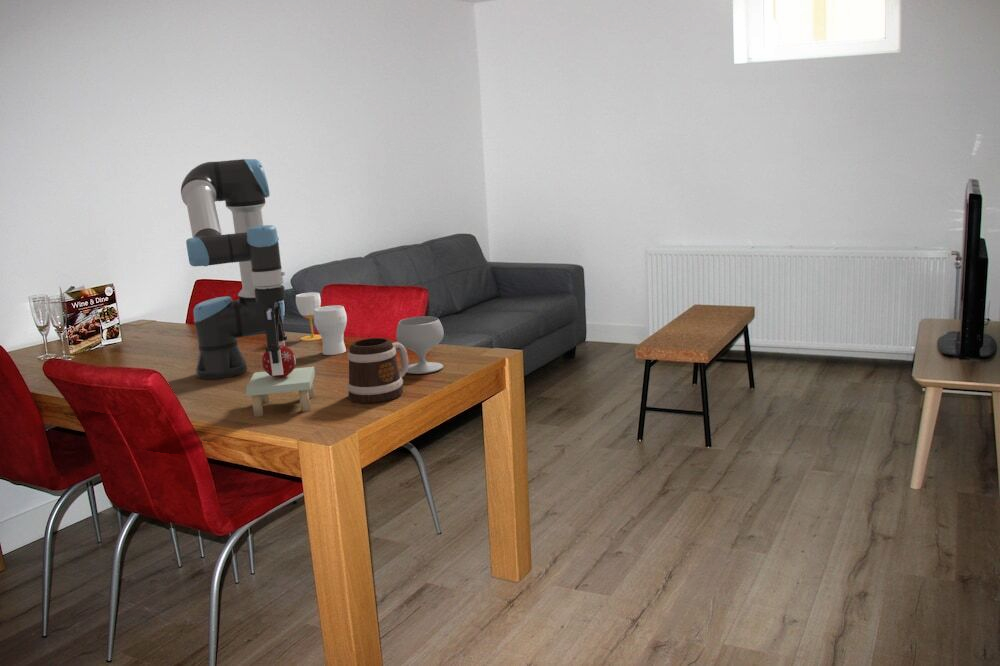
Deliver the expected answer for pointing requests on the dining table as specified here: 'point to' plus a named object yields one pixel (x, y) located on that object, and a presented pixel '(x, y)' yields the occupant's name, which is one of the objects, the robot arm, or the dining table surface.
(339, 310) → the cup
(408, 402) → the dining table surface
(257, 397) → the mint green side table
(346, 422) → the dining table surface
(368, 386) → the mug
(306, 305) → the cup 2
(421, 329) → the chalice
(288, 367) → the christmas ornament
